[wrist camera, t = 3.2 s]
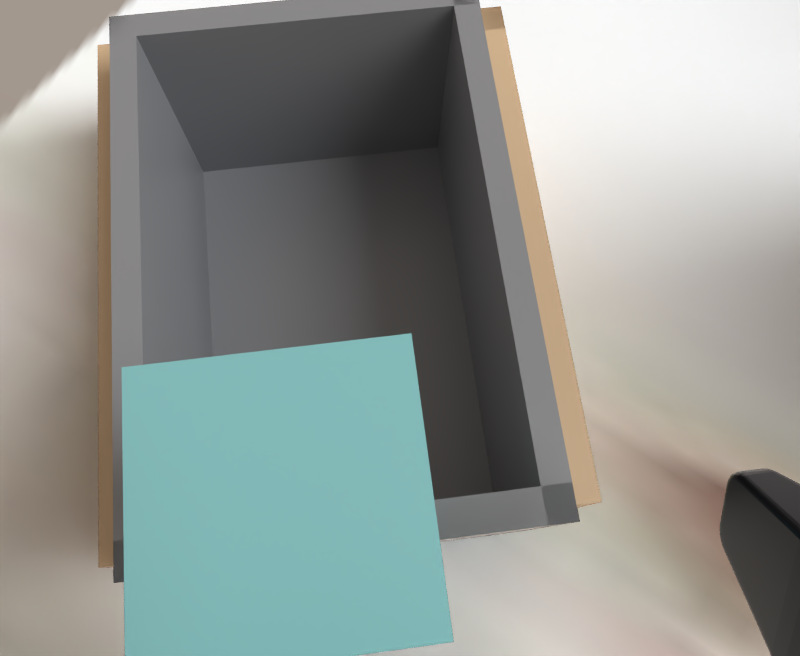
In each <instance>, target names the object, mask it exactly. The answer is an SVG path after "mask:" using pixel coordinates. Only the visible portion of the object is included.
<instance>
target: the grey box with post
mask: <svg viewBox="0 0 800 656" xmlns="http://www.w3.org/2000/svg"><path fill="white" fill-rule="evenodd" d="M109 36H110V171H111V306H112V442H113V577H114V583H117V582H124V623H125V656H356V655H363V654H370V653H377V652H384V651H392V650H399V649H406V648H413V647H421V646H428V645H435V644H442V643H449V642H454V641H453V633H452V626H451V619H450V612H449V604H448V597H447V590H446V582H445V575H444V568H443V560H442V553H441V546H440V542H443V541H450V540H458V539H466V538H473V537H481V536H488V535H496V534H503V533H511V532H518V531H525V530H531V529H537V528H543V527H549V526H555V525H561V524H567V523H574V522H580V520H579V514H578V509H577V504H576V499H575V494H574V489H573V484H572V478H571V473H570V468H569V463H568V458H567V453H566V447H565V442H564V437H563V432H562V427H561V422H560V416H559V411H558V406H557V401H556V396H555V391H554V385H553V380H552V375H551V370H550V365H549V360H548V354H547V349H546V344H545V339H544V334H543V329H542V324H541V318H540V313H539V308H538V303H537V298H536V293H535V287H534V282H533V277H532V272H531V267H530V262H529V256H528V251H527V246H526V241H525V236H524V231H523V225H522V220H521V215H520V210H519V205H518V200H517V194H516V189H515V184H514V179H513V174H512V169H511V163H510V158H509V153H508V148H507V143H506V138H505V133H504V127H503V122H502V117H501V112H500V107H499V102H498V96H497V91H496V86H495V81H494V76H493V71H492V65H491V60H490V55H489V50H488V45H487V40H486V34H485V29H484V24H483V19H482V14H481V9H480V3H479V0H284V1H273V2H262V3H252V4H241V5H231V6H220V7H209V8H199V9H188V10H178V11H167V12H156V13H146V14H135V15H124V16H114V17H109Z"/></svg>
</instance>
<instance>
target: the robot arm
mask: <svg viewBox="0 0 800 656" xmlns="http://www.w3.org/2000/svg"><path fill="white" fill-rule="evenodd" d="M720 537H721V542H722V545H723V548H724V551H725V553H726V555H727V557H728V560H729V562H730V564H731V566H732V569H733V571H734V573H735V575H736V578H737V580H738V582H739V584H740V587H741V589H742V591H743V593H744V596H745V598H746V600H747V602H748V605H749V607H750V609H751V611H752V614H753V616H754V618H755V620H756V622H757V625H758V627H759V629H760V631H761V634H762V636H763V638H764V640H765V643H766V645H767V647H768V649H769V652H770V654H771V656H800V484H799V483H797V482H795V481H793V480H791V479H789V478H787V477H785V476H783V475H781V474H780V473H778V472H775V471H773V470H770V469H756V470H748V471H741V472H736V473H734V474H732V475H731V477H730V478H729V480H728V483H727V488H726V494H725V500H724V505H723V511H722V517H721V522H720Z"/></svg>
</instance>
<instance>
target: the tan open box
mask: <svg viewBox="0 0 800 656" xmlns="http://www.w3.org/2000/svg"><path fill="white" fill-rule="evenodd" d="M480 9H481V14H482V19H483V24H484V29H485V34H486V40H487V45H488V50H489V55H490V60H491V65H492V71H493V76H494V81H495V86H496V91H497V96H498V102H499V107H500V112H501V117H502V122H503V127H504V133H505V138H506V143H507V148H508V153H509V158H510V163H511V169H512V174H513V179H514V184H515V189H516V194H517V200H518V205H519V210H520V215H521V220H522V225H523V231H524V236H525V241H526V246H527V251H528V256H529V262H530V267H531V272H532V277H533V282H534V287H535V293H536V298H537V303H538V308H539V313H540V318H541V324H542V329H543V334H544V339H545V344H546V349H547V354H548V360H549V365H550V370H551V375H552V380H553V385H554V391H555V396H556V401H557V406H558V411H559V416H560V422H561V427H562V432H563V437H564V442H565V447H566V453H567V458H568V463H569V468H570V473H571V478H572V484H573V489H574V494H575V499H576V504H577V508H579V507H583V506H587V505H591V504H595V503H600V502H602V501H601V496H600V491H599V486H598V481H597V477H596V472H595V467H594V462H593V457H592V452H591V447H590V442H589V437H588V432H587V428H586V423H585V418H584V413H583V408H582V403H581V398H580V393H579V388H578V383H577V379H576V374H575V369H574V364H573V359H572V354H571V349H570V344H569V339H568V334H567V330H566V325H565V320H564V315H563V310H562V305H561V300H560V295H559V290H558V285H557V281H556V276H555V271H554V266H553V261H552V256H551V251H550V246H549V241H548V236H547V232H546V227H545V222H544V217H543V212H542V207H541V202H540V197H539V192H538V187H537V183H536V178H535V173H534V168H533V163H532V158H531V153H530V148H529V143H528V138H527V134H526V129H525V124H524V119H523V114H522V109H521V104H520V99H519V94H518V89H517V85H516V80H515V75H514V70H513V65H512V60H511V55H510V50H509V45H508V40H507V36H506V31H505V26H504V21H503V16H502V11H501V7H491V8H480ZM98 505H99V568H102V567H113V442H112V306H111V171H110V44H105V45H98Z"/></svg>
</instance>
